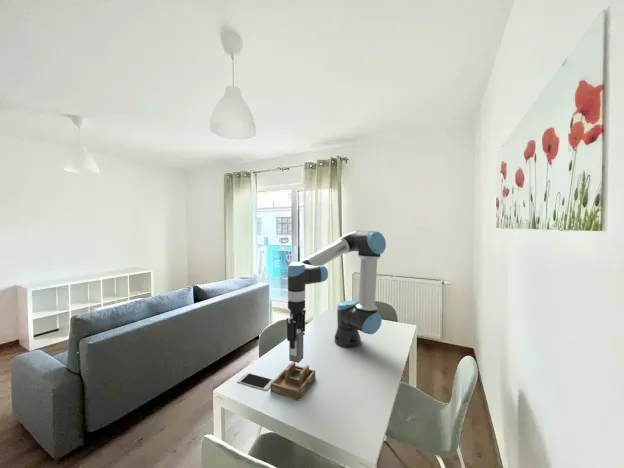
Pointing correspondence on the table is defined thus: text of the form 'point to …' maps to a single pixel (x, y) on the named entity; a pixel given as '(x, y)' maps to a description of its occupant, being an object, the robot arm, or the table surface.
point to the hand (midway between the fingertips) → (296, 352)
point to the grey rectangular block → (299, 347)
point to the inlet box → (293, 381)
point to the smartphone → (256, 381)
